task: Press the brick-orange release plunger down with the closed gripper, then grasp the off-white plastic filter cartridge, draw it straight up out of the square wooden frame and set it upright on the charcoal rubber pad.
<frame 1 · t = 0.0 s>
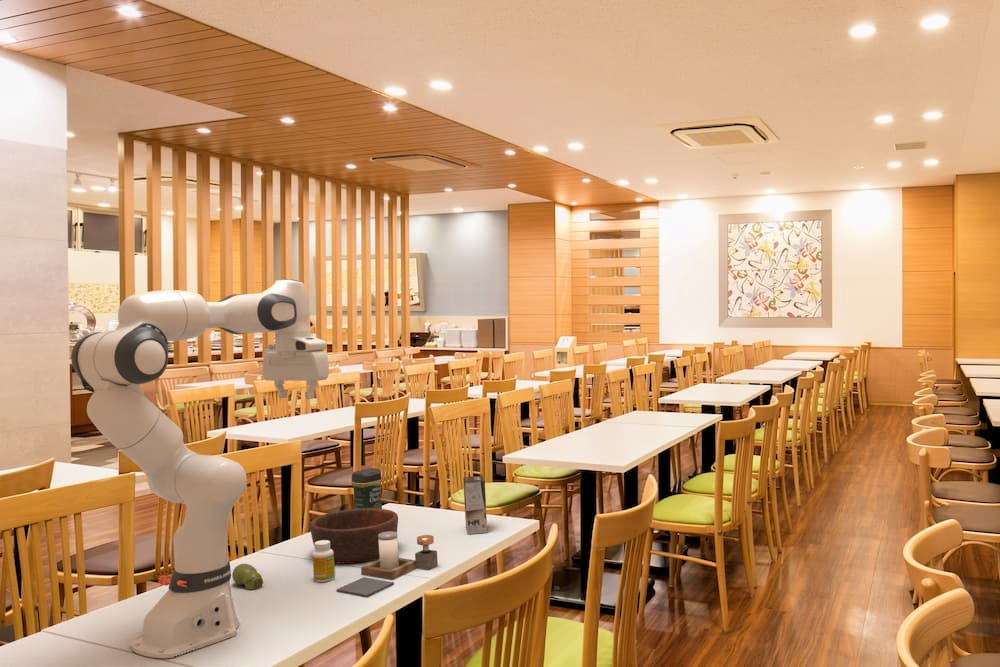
hand: (296, 398, 205), 48 cm above the table, fingers open, 8 cm apart
coffee box: (476, 530, 252), on the table
filter cartridge: (389, 571, 215), resting in square wooden frame
supplement bottle: (324, 579, 211), on the table
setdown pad: (365, 588, 202), on the table
wooden bowl: (356, 554, 233), on the table
pear: (248, 586, 209), on the table
coffee jar: (369, 526, 263), on the table
plunger: (425, 546, 217), point 6 cm above the table, slide at 0.0 cm
square wooden frame: (389, 571, 215), on the table
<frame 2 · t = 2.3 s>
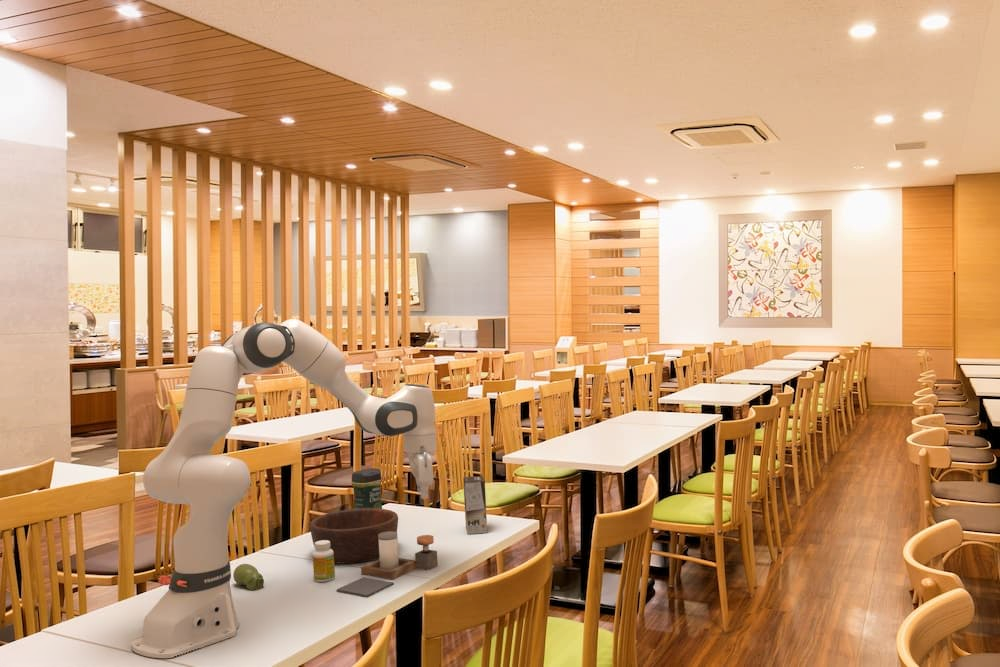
hand: (422, 495, 217), 19 cm above the table, fingers open, 6 cm apart
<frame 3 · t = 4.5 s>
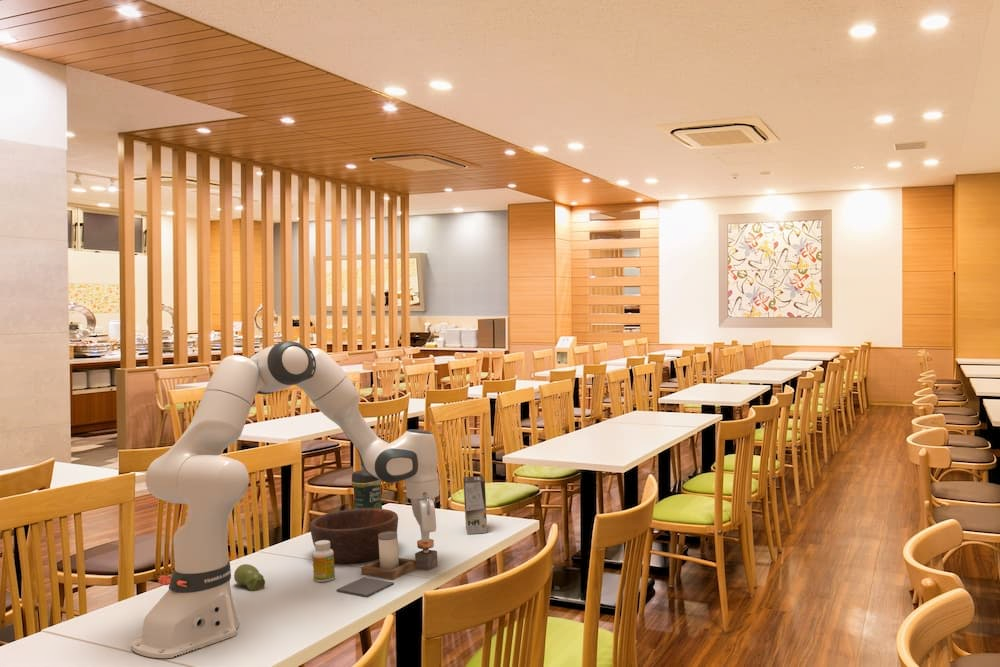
hand: (425, 540, 217), 7 cm above the table, fingers closed, pressing on plunger
plunger: (425, 550, 217), point 4 cm above the table, slide at 1.0 cm, touching gripper
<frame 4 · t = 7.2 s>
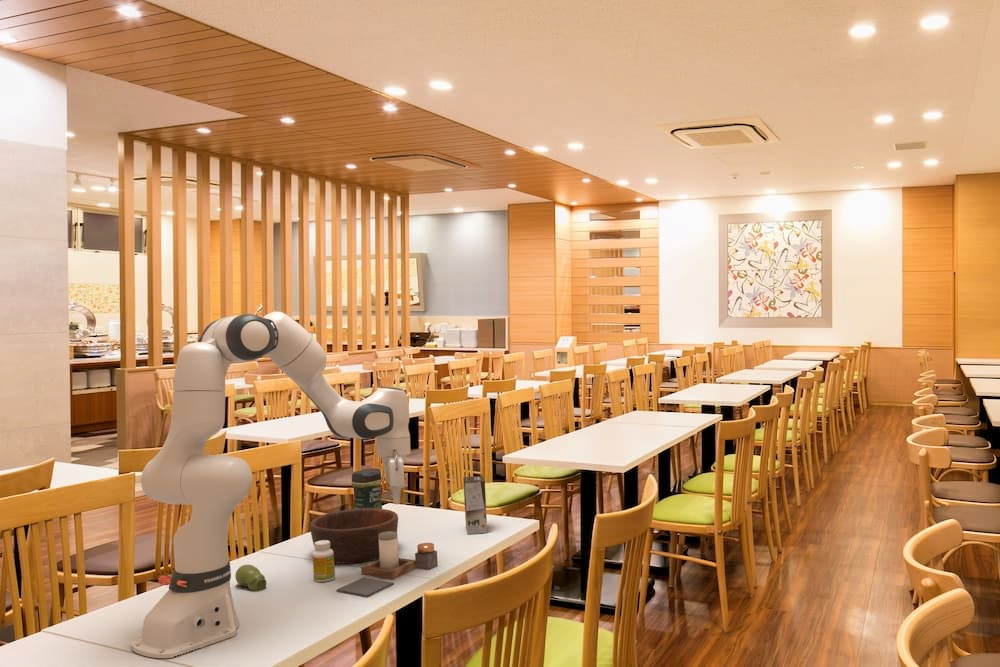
hand: (395, 500, 214), 19 cm above the table, fingers open, 8 cm apart
plunger: (426, 554, 217), point 3 cm above the table, slide at 2.1 cm
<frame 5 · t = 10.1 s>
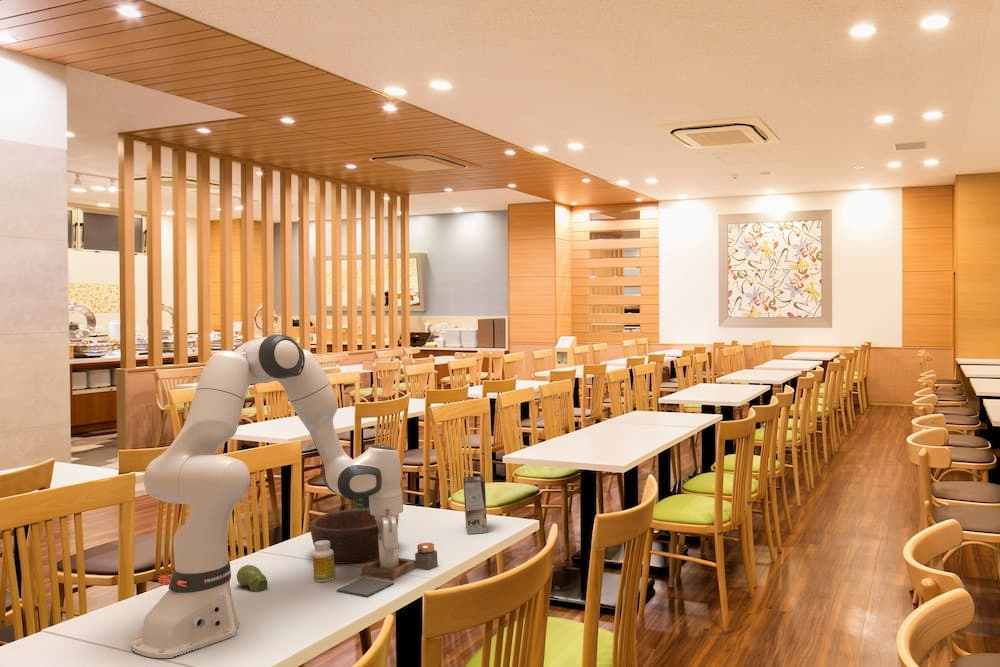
hand: (388, 557, 215), 4 cm above the table, fingers closed on filter cartridge, 5 cm apart
filter cartridge: (389, 571, 215), resting in square wooden frame, touching gripper
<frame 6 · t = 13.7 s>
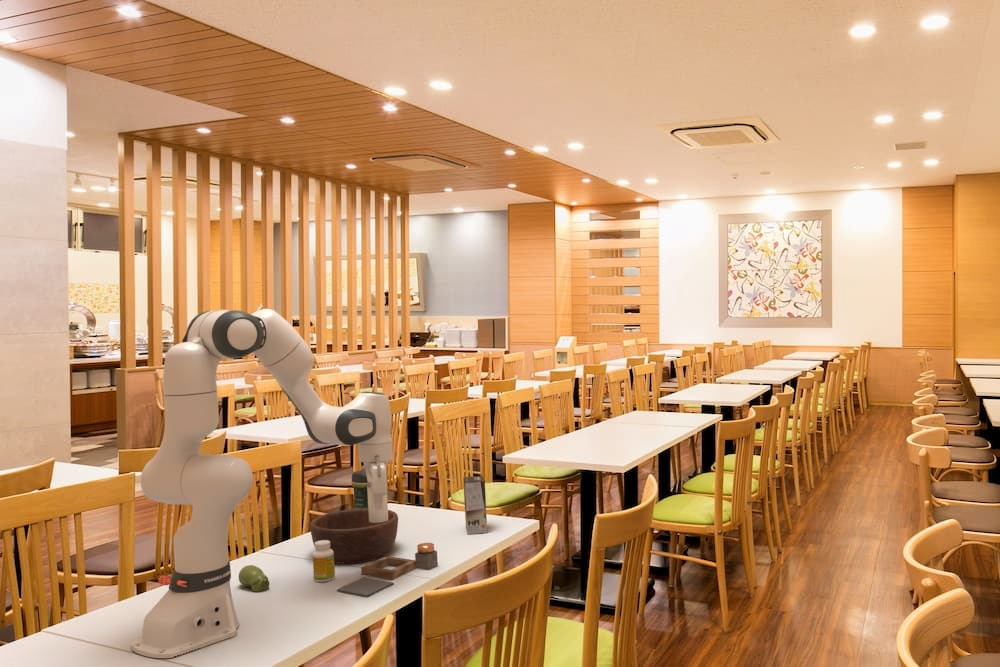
hand: (377, 506, 211), 18 cm above the table, fingers closed on filter cartridge, 5 cm apart
filter cartridge: (378, 520, 211), point 15 cm above the table, touching gripper
when the fingers open (6 cm above the table, at t = 17.4 s): filter cartridge drops 1 cm, resting on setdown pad.
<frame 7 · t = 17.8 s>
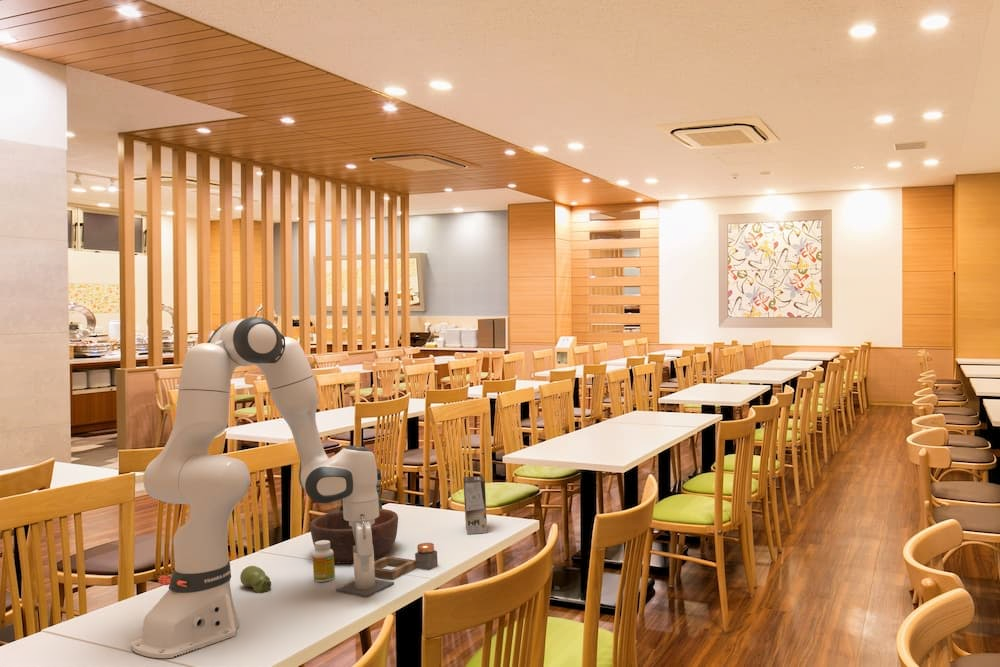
hand: (364, 565, 202), 6 cm above the table, fingers open, 8 cm apart
filter cartridge: (365, 585, 202), point 1 cm above the table, touching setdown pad
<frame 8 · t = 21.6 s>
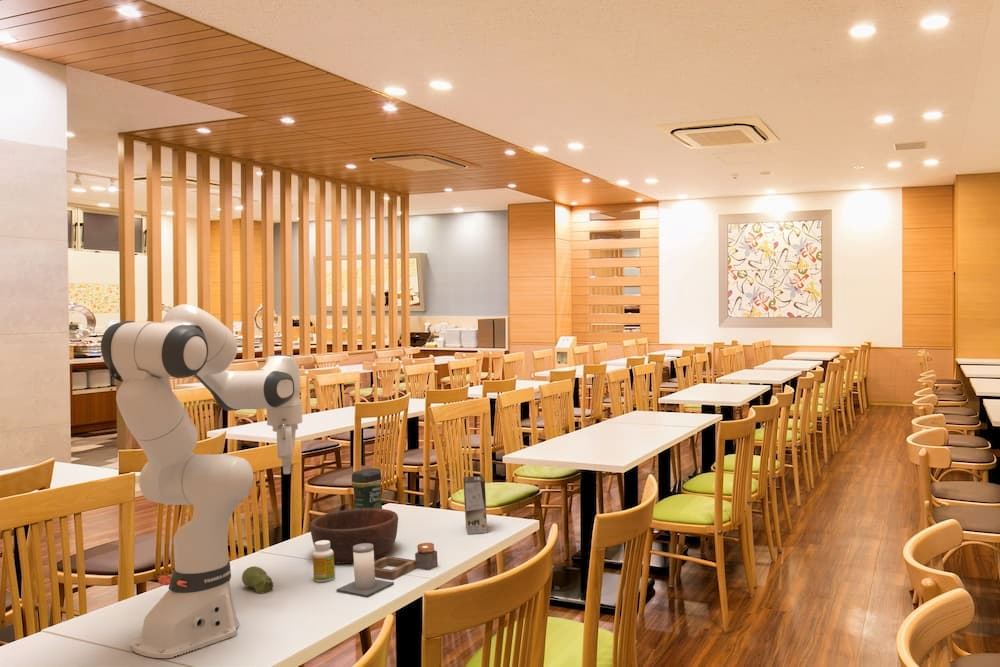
hand: (287, 470, 209), 29 cm above the table, fingers open, 8 cm apart
at the end: plunger slide at 2.1 cm; filter cartridge 0.0 cm off-centre on the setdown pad, point 0.6 cm above the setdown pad's base; filter cartridge tilted 0° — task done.
